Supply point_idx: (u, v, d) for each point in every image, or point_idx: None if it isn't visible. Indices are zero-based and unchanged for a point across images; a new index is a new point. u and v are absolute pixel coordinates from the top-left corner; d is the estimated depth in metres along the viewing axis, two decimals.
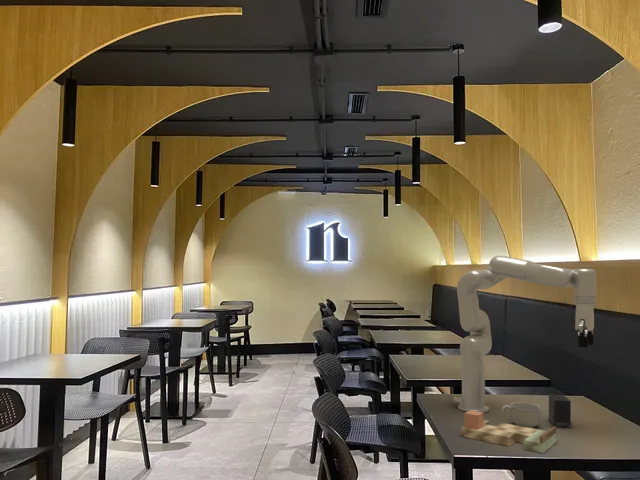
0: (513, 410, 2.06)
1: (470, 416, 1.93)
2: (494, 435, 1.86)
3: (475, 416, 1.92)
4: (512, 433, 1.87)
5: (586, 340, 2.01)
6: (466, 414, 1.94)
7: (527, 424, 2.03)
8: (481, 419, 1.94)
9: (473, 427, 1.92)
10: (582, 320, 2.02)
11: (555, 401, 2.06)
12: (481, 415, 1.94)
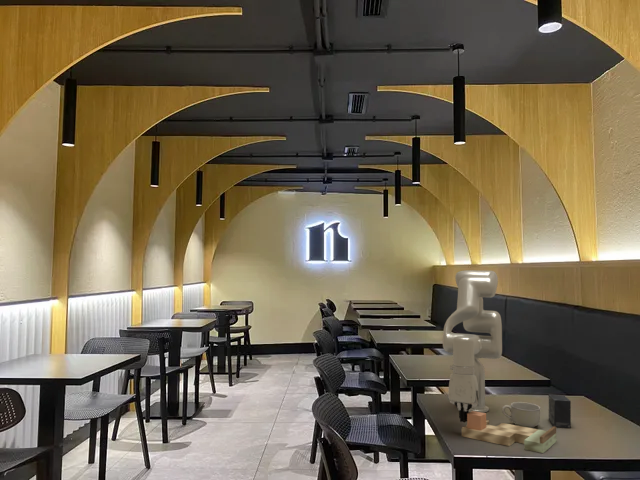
0: (513, 410, 2.06)
1: (473, 416, 1.92)
2: (494, 435, 1.86)
3: (478, 417, 1.91)
4: (512, 433, 1.87)
5: (467, 413, 1.97)
6: (469, 415, 1.93)
7: (527, 424, 2.03)
8: (484, 420, 1.93)
9: (476, 428, 1.91)
10: (475, 395, 1.95)
11: (555, 401, 2.06)
12: (484, 416, 1.93)
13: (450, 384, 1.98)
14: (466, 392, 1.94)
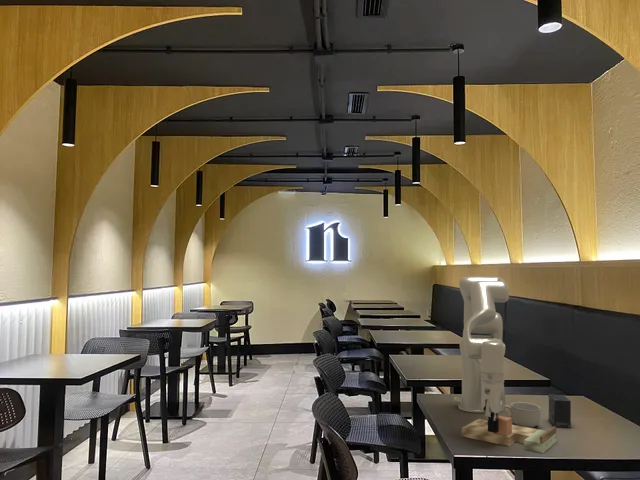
0: (513, 410, 2.06)
1: (499, 421, 1.86)
2: (494, 435, 1.86)
3: (504, 421, 1.85)
4: (512, 433, 1.87)
5: None
6: None
7: (527, 424, 2.03)
8: (509, 424, 1.87)
9: (501, 433, 1.85)
10: None
11: (555, 401, 2.06)
12: (510, 420, 1.87)
13: (495, 396, 1.81)
14: (503, 398, 1.86)
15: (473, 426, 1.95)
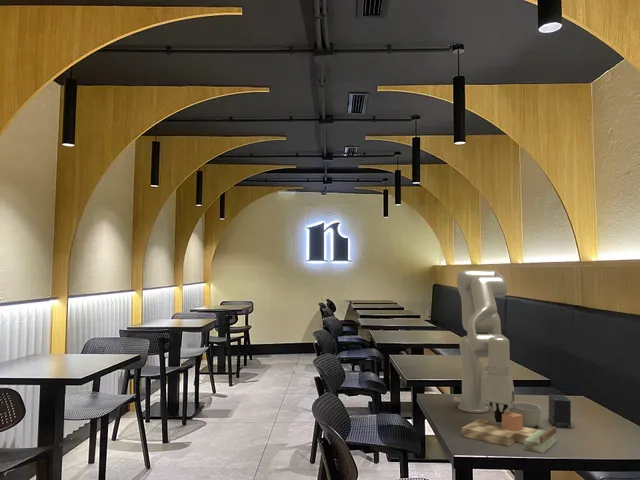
0: (513, 410, 2.06)
1: (507, 417, 1.92)
2: (494, 435, 1.86)
3: (511, 417, 1.91)
4: (512, 433, 1.87)
5: None
6: (503, 415, 1.93)
7: (527, 424, 2.03)
8: (519, 421, 1.92)
9: (509, 428, 1.91)
10: None
11: (555, 401, 2.06)
12: (519, 417, 1.92)
13: (485, 385, 1.98)
14: (502, 393, 1.94)
15: (473, 426, 1.95)
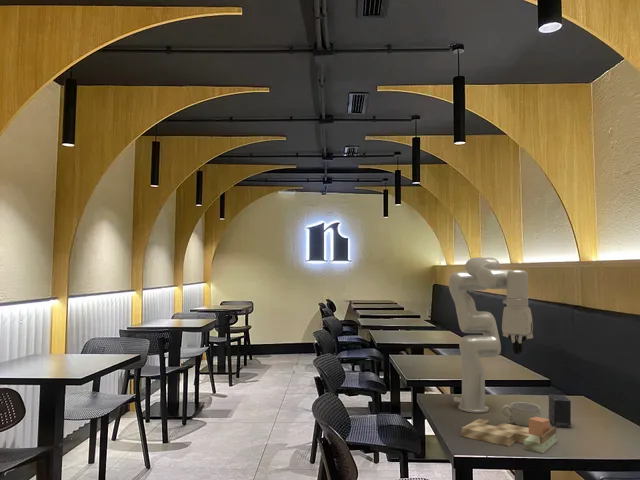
0: (513, 410, 2.06)
1: (535, 422, 1.86)
2: (494, 435, 1.86)
3: (539, 422, 1.84)
4: (512, 433, 1.87)
5: None
6: (530, 420, 1.87)
7: (527, 424, 2.03)
8: (547, 426, 1.86)
9: (537, 434, 1.85)
10: None
11: (555, 401, 2.06)
12: (547, 422, 1.86)
13: (504, 317, 1.99)
14: (521, 324, 1.95)
15: (473, 426, 1.95)
